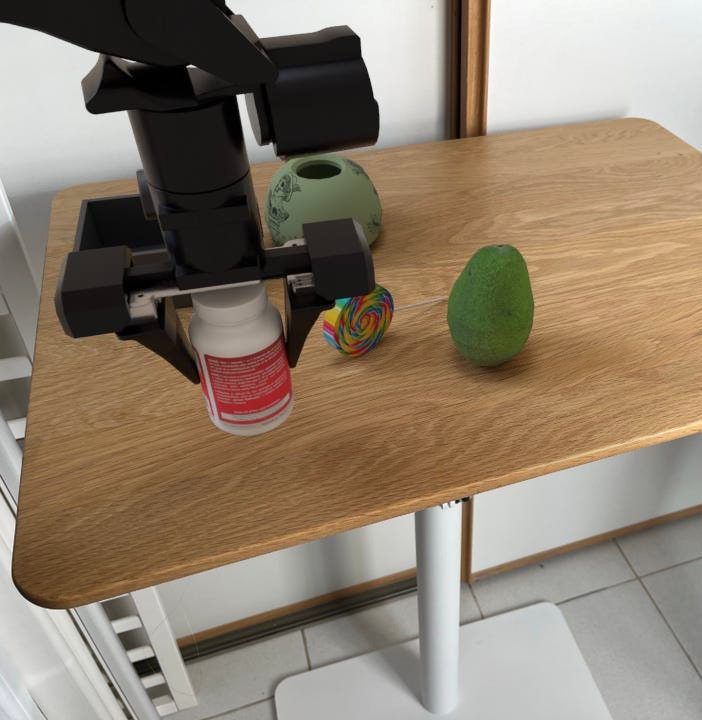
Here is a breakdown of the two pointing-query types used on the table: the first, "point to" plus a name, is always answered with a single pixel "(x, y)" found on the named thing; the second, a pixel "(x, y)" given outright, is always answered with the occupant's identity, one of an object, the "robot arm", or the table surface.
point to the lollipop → (361, 321)
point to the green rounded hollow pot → (320, 196)
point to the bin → (123, 232)
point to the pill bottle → (241, 359)
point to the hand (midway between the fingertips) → (245, 372)
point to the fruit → (491, 306)
